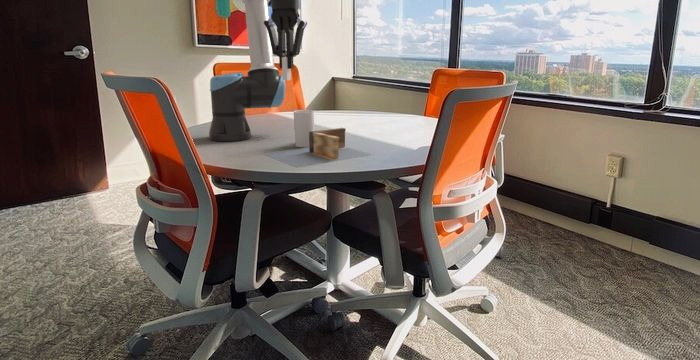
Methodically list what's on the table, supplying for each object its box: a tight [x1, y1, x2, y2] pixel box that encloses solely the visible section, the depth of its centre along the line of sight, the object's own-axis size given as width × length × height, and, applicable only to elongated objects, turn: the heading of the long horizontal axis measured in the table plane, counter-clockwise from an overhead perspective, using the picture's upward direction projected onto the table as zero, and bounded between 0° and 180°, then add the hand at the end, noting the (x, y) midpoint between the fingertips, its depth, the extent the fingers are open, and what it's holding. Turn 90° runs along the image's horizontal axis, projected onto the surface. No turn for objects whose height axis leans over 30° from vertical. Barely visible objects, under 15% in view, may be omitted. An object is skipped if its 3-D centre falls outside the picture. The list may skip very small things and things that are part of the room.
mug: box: [293, 109, 315, 148], centre depth 156 cm, size 10×7×12 cm, turn 13°
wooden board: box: [313, 131, 339, 158], centre depth 140 cm, size 11×2×6 cm, turn 41°
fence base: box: [309, 127, 346, 153], centre depth 148 cm, size 2×13×6 cm, turn 126°
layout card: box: [262, 146, 373, 168], centre depth 143 cm, size 21×27×1 cm
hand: (286, 79), depth 137 cm, fingers closed
